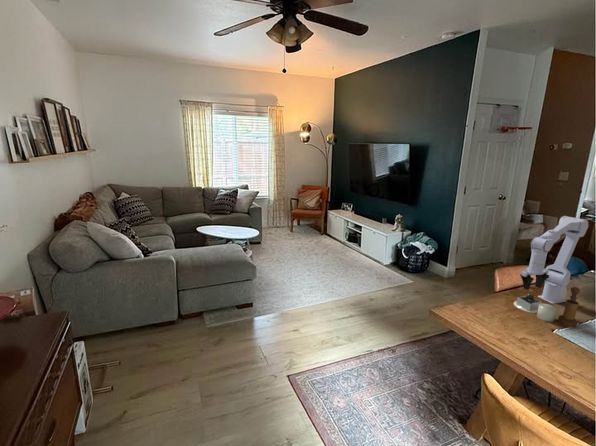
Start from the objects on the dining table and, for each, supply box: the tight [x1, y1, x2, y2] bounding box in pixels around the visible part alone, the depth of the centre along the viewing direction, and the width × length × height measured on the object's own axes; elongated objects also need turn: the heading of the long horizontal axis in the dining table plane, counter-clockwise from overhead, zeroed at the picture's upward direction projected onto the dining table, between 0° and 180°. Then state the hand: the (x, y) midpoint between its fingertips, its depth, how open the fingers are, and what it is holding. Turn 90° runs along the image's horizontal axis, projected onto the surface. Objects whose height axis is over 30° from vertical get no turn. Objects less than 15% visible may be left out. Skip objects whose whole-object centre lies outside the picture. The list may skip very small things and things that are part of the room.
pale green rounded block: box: [536, 303, 557, 323], centre depth 143 cm, size 6×6×6 cm
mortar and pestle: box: [557, 286, 581, 329], centre depth 137 cm, size 7×6×18 cm
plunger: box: [525, 293, 535, 303], centre depth 153 cm, size 5×5×6 cm
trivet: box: [513, 300, 538, 314], centre depth 154 cm, size 12×12×1 cm
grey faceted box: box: [516, 294, 543, 311], centre depth 154 cm, size 7×9×4 cm
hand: (531, 288), depth 151 cm, fingers open, 7 cm apart
